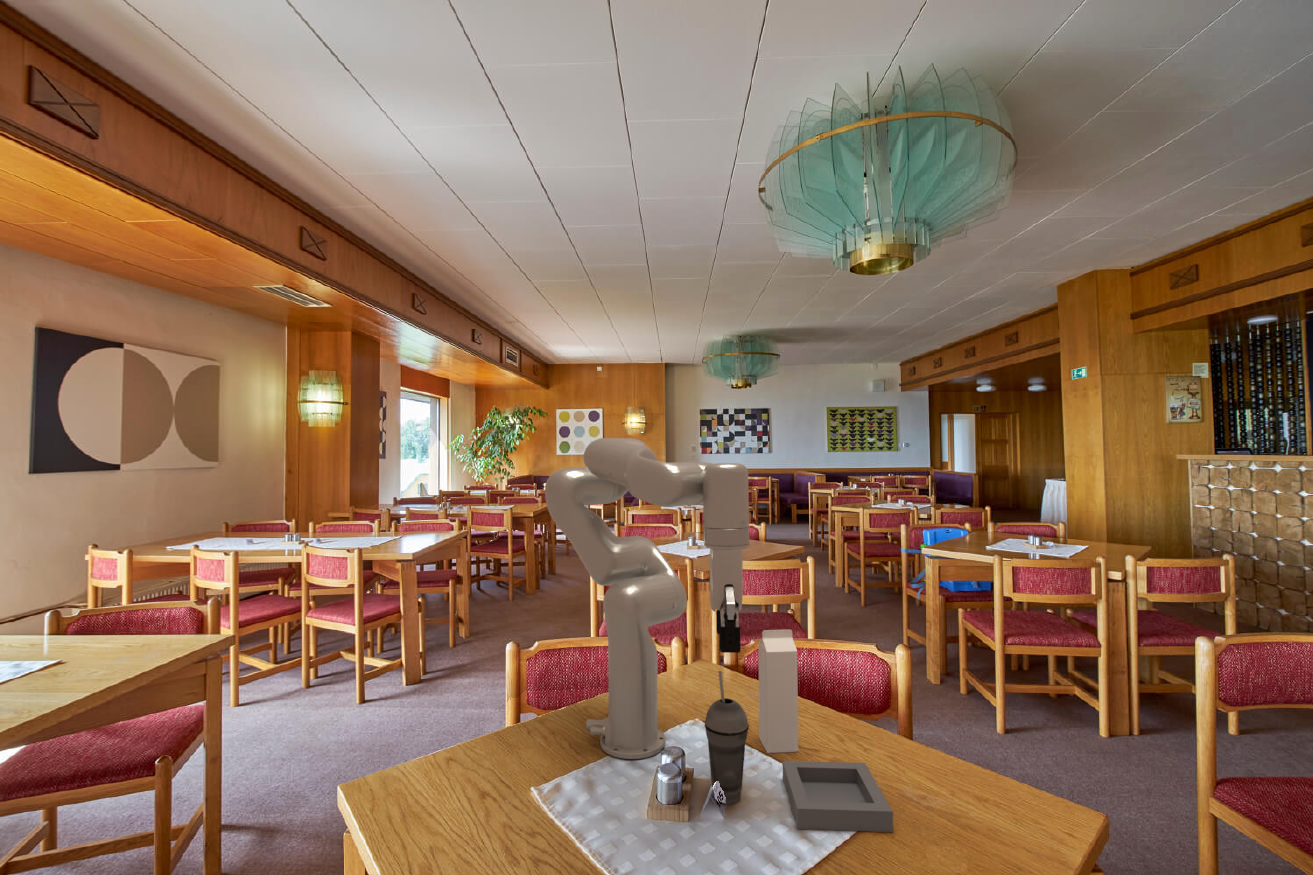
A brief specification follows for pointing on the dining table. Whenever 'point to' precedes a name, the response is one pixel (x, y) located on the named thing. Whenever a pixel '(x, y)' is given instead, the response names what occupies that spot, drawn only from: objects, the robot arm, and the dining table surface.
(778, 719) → the milk
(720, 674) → the beverage cup
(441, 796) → the dining table surface
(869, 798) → the tray
